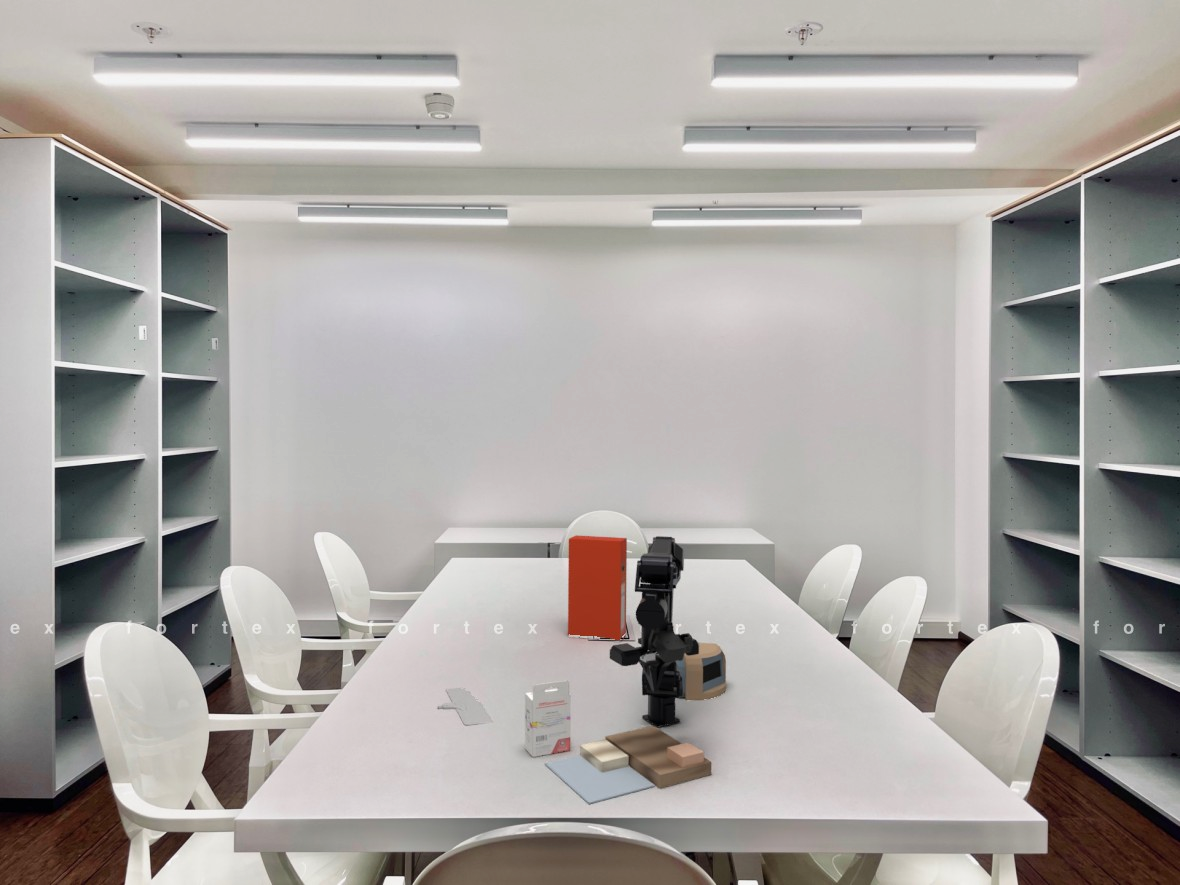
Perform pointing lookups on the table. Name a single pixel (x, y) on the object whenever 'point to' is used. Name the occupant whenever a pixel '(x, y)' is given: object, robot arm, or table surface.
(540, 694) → the ink cartridge box
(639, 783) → the mat
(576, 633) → the file binder
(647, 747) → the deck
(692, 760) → the terracotta tile
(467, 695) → the grey flat piece
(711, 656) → the alarm clock
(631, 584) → the table surface
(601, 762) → the birch tile
